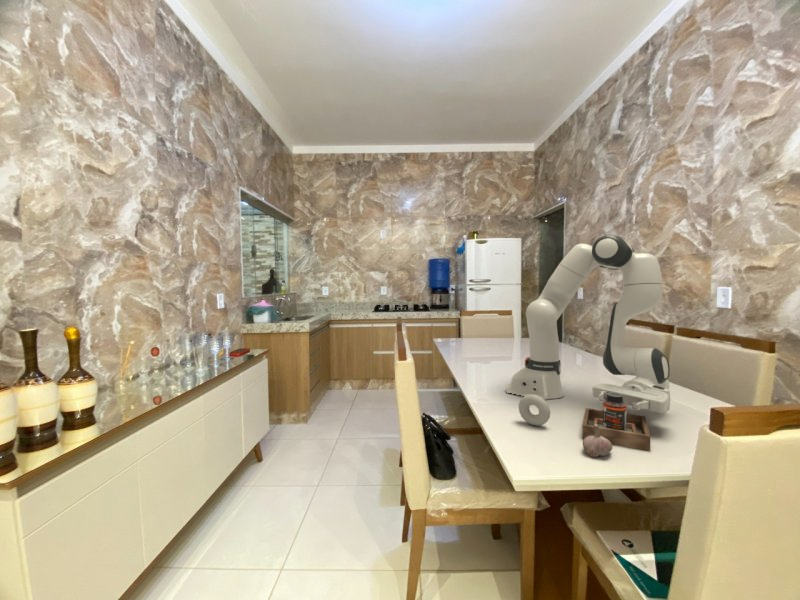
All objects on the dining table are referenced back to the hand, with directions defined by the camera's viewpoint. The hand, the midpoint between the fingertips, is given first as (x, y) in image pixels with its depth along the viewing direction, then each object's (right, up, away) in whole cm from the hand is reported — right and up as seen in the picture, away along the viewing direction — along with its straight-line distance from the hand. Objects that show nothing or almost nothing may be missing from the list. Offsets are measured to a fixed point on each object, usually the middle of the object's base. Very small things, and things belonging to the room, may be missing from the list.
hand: (617, 402), depth 104 cm
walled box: (-1, -9, -1) cm, 9 cm away
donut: (-22, -10, +7) cm, 25 cm away
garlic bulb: (-13, -10, -12) cm, 20 cm away
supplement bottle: (-1, -9, -1) cm, 9 cm away
